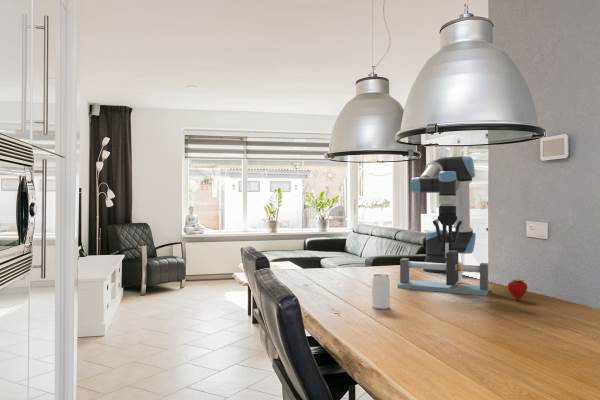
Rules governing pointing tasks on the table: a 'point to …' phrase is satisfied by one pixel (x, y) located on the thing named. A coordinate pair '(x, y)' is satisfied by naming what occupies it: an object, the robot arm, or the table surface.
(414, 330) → the table surface
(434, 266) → the pipe stand
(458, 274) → the white cup
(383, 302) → the can
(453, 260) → the dark grey square plate
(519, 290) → the strawberry
